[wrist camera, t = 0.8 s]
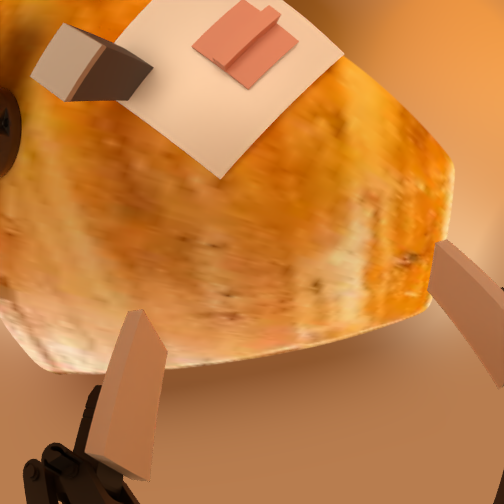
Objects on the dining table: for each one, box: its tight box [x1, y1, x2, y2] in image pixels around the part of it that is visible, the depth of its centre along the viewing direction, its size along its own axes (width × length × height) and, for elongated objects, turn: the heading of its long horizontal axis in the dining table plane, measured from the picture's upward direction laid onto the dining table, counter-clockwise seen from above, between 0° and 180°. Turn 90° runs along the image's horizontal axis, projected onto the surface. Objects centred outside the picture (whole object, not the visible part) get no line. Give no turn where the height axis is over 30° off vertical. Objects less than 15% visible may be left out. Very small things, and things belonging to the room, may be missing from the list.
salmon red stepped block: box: [191, 0, 299, 89], centre depth 20 cm, size 8×8×4 cm
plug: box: [30, 23, 154, 102], centre depth 17 cm, size 4×4×13 cm
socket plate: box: [114, 0, 344, 179], centre depth 24 cm, size 20×20×4 cm
